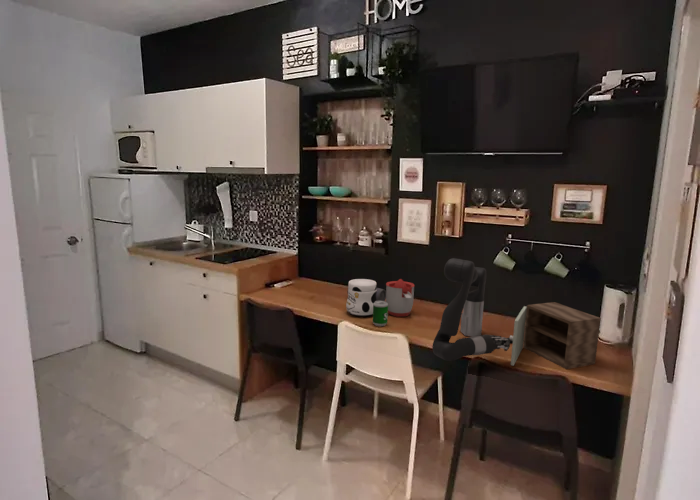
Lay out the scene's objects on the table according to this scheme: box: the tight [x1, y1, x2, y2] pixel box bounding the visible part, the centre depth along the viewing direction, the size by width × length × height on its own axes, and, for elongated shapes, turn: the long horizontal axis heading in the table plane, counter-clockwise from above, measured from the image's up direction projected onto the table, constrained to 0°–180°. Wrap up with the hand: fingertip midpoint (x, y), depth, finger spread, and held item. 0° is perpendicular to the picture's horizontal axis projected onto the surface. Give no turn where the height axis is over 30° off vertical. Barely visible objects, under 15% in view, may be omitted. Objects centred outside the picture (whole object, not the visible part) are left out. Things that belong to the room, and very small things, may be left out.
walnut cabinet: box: [522, 301, 602, 370], centre depth 190 cm, size 16×24×20 cm, turn 21°
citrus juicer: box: [385, 278, 416, 318], centre depth 242 cm, size 16×17×20 cm
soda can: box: [372, 300, 389, 327], centre depth 225 cm, size 8×8×12 cm
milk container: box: [345, 278, 378, 317], centre depth 242 cm, size 17×17×18 cm
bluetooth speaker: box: [347, 287, 386, 301], centre depth 265 cm, size 23×9×10 cm, turn 55°
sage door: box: [509, 305, 527, 366], centre depth 188 cm, size 3×24×19 cm, turn 150°
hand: (513, 340), depth 184 cm, fingers closed
